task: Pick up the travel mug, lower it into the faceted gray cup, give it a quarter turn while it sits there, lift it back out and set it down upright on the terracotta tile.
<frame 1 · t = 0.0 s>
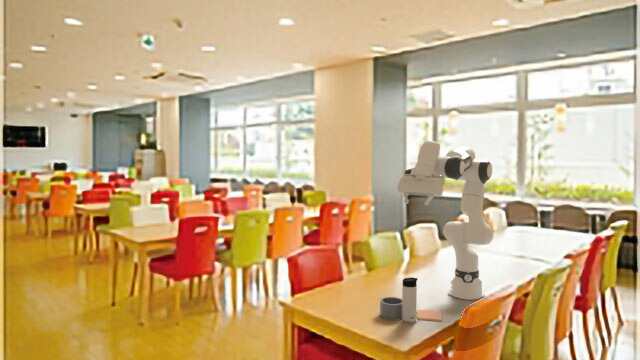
hand: (415, 203, 195), 54 cm above the table, tool tilted 30°, fingers open, 8 cm apart
faceted gray cup: (392, 315, 214), on the table
travel mug: (409, 321, 207), on the table
terracotta tile: (429, 316, 213), on the table
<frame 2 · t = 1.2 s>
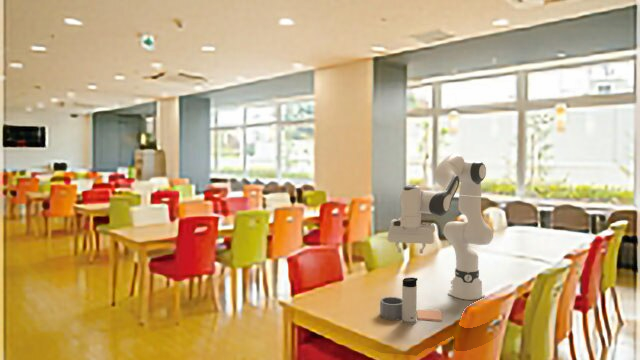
hand: (410, 252, 204), 32 cm above the table, tool pointing down, fingers open, 8 cm apart
nothing on the table moved.
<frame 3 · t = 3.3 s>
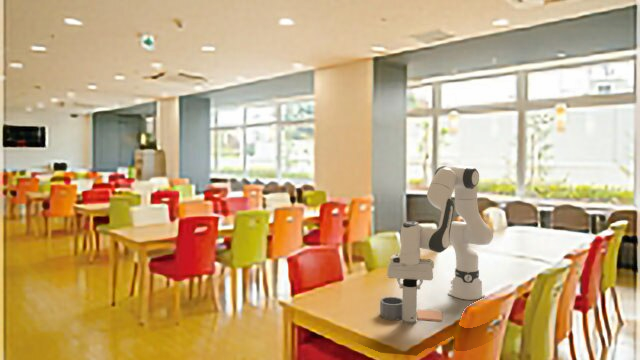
hand: (409, 288, 206), 15 cm above the table, tool pointing down, fingers closed on travel mug, 6 cm apart
travel mug: (409, 321, 207), on the table, touching gripper
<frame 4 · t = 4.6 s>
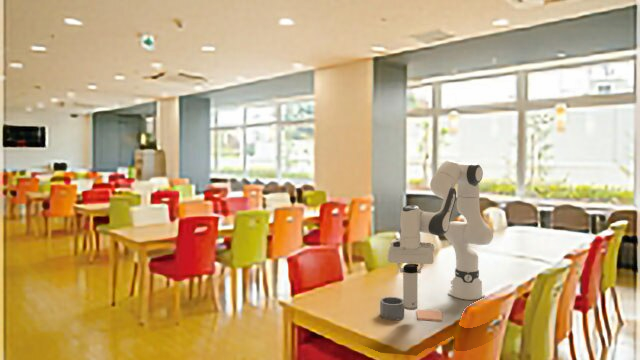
hand: (410, 272, 205), 22 cm above the table, tool pointing down, fingers closed on travel mug, 6 cm apart
travel mug: (410, 308, 207), point 6 cm above the table, touching gripper
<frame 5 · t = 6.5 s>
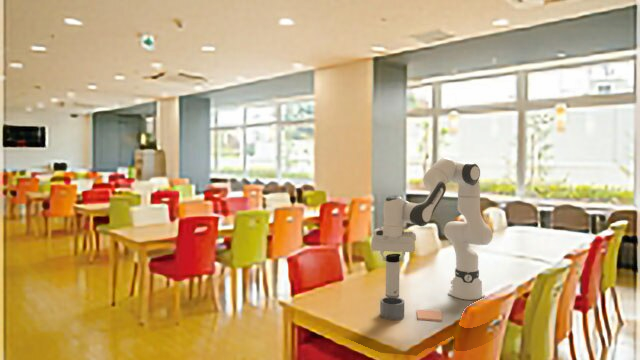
hand: (392, 260, 212), 26 cm above the table, tool pointing down, fingers closed on travel mug, 6 cm apart
travel mug: (392, 296, 213), point 9 cm above the table, touching gripper
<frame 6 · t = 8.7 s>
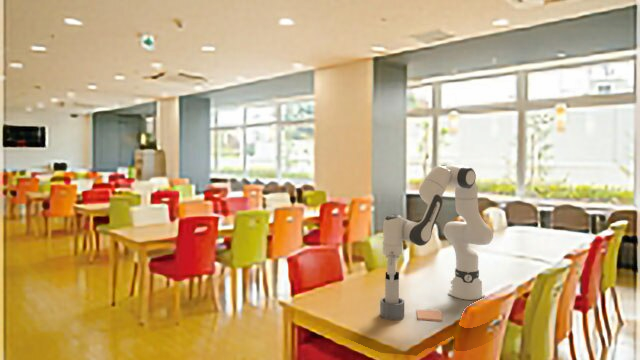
hand: (392, 279, 213), 17 cm above the table, tool pointing down, fingers closed on travel mug, 6 cm apart
travel mug: (391, 313, 214), point 1 cm above the table, touching gripper, faceted gray cup
when the fingers open (18 cm above the table, at t = 14.5 s): travel mug stays where it is, resting on terracotta tile.
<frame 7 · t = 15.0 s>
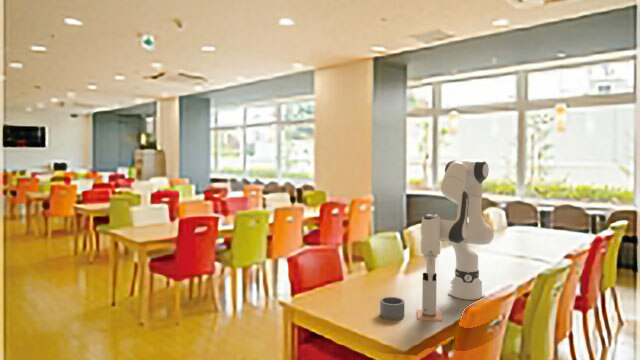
hand: (429, 278, 212), 18 cm above the table, tool pointing down, fingers open, 8 cm apart
travel mug: (429, 315, 213), point 1 cm above the table, touching terracotta tile
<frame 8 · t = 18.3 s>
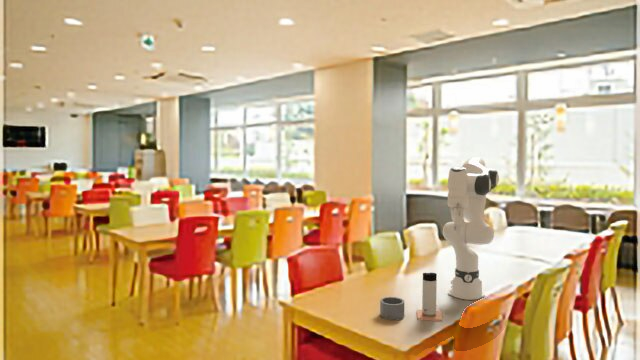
hand: (457, 232, 211), 39 cm above the table, tool pointing down, fingers open, 8 cm apart
nothing on the table moved.
at the end: travel mug 0.4 cm off-centre on the terracotta tile, point 0.6 cm above the terracotta tile's base; travel mug tilted 0°; the gripper is holding nothing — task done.
